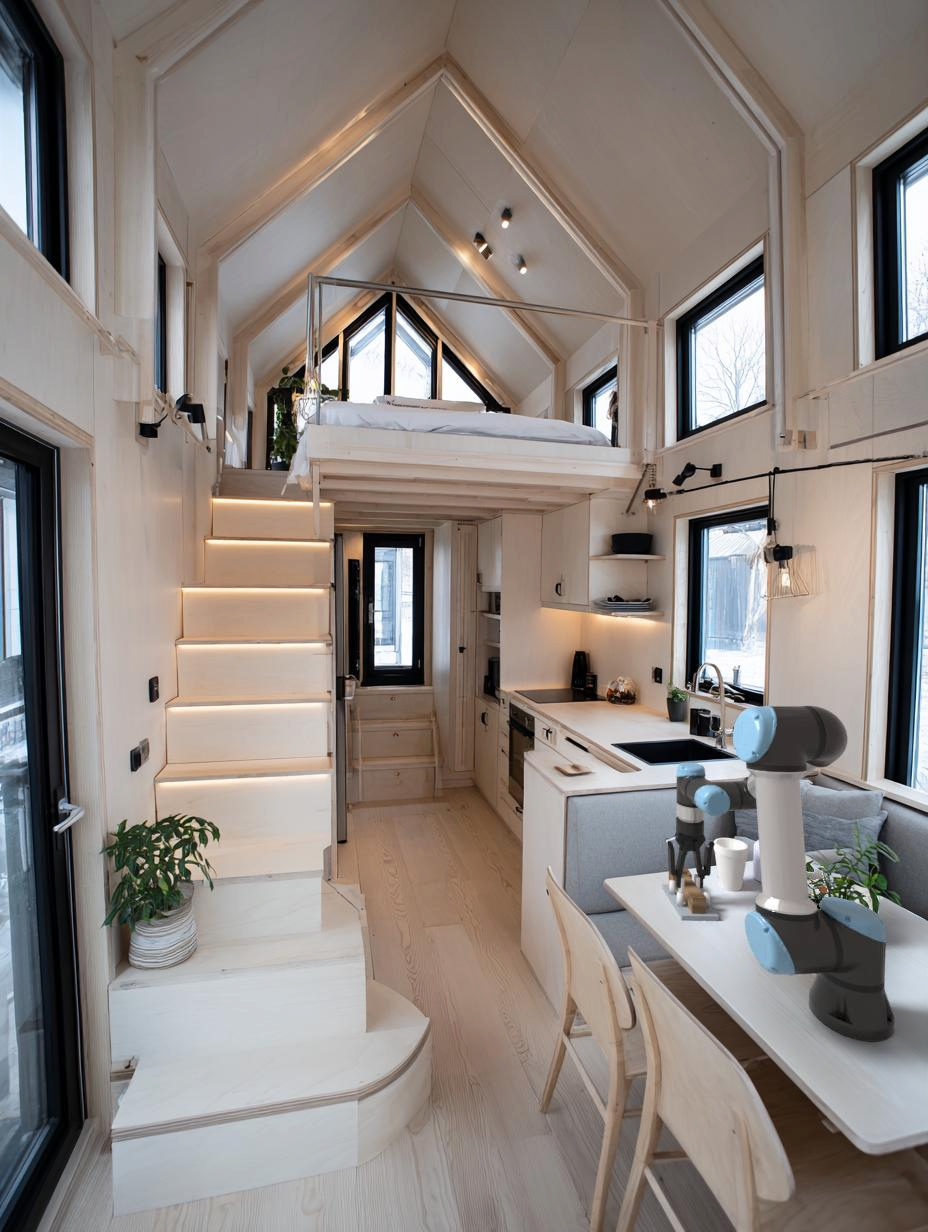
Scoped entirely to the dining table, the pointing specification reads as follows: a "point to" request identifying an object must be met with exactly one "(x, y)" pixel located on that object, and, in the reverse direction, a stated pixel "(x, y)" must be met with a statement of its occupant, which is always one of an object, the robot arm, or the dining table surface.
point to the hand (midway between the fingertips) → (688, 898)
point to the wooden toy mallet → (692, 894)
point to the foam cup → (730, 862)
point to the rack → (682, 908)
